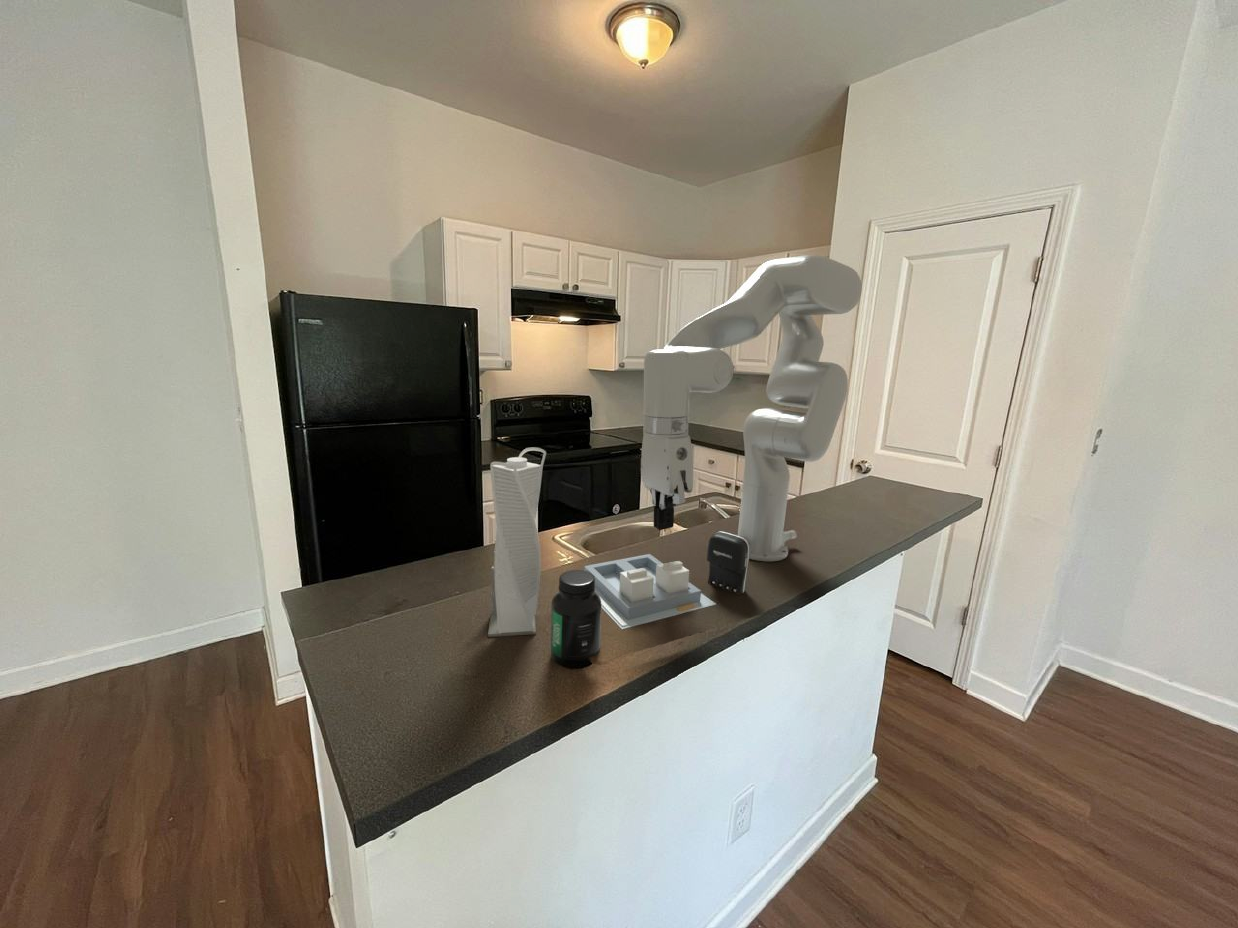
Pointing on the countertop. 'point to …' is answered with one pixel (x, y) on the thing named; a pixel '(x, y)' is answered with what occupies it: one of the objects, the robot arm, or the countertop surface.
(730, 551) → the battery charger
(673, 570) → the tab
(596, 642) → the supplement bottle
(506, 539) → the skyscraper
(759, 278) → the robot arm
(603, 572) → the switch bank
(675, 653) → the countertop surface
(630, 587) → the tab
